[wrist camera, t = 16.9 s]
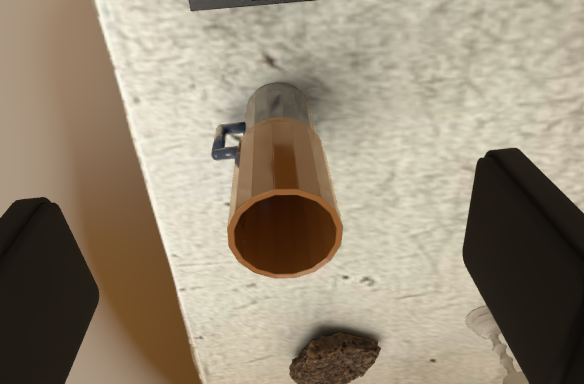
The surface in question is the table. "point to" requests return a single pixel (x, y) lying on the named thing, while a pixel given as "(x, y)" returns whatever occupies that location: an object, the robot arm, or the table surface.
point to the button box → (233, 3)
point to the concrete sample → (334, 360)
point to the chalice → (494, 341)
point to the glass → (283, 201)
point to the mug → (264, 114)
